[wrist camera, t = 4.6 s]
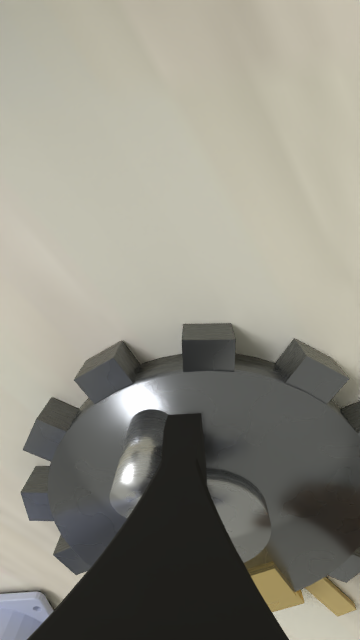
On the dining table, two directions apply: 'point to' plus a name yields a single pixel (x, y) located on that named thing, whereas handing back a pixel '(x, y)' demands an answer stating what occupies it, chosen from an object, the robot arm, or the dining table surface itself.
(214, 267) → the dining table surface
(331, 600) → the pointer
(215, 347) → the sprocket
